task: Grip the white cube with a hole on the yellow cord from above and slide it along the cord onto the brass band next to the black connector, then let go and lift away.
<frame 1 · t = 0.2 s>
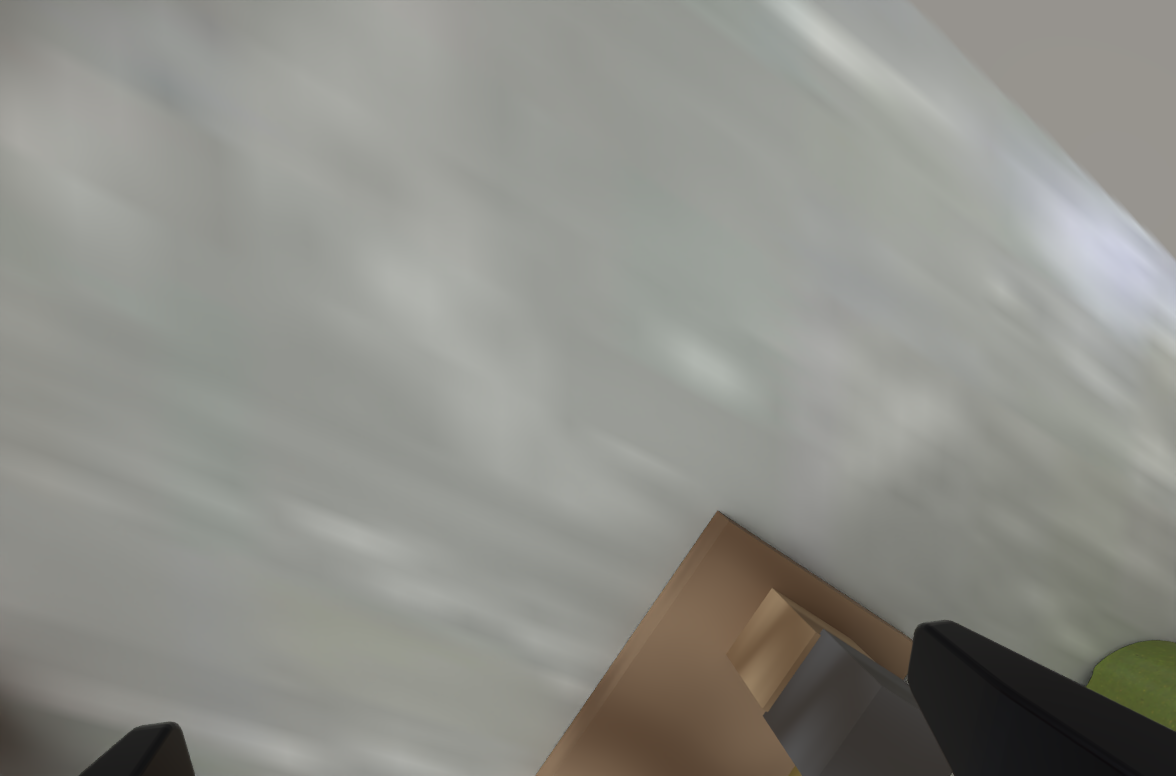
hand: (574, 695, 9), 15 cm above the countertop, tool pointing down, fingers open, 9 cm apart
plant pot: (1133, 714, 28), on the countertop
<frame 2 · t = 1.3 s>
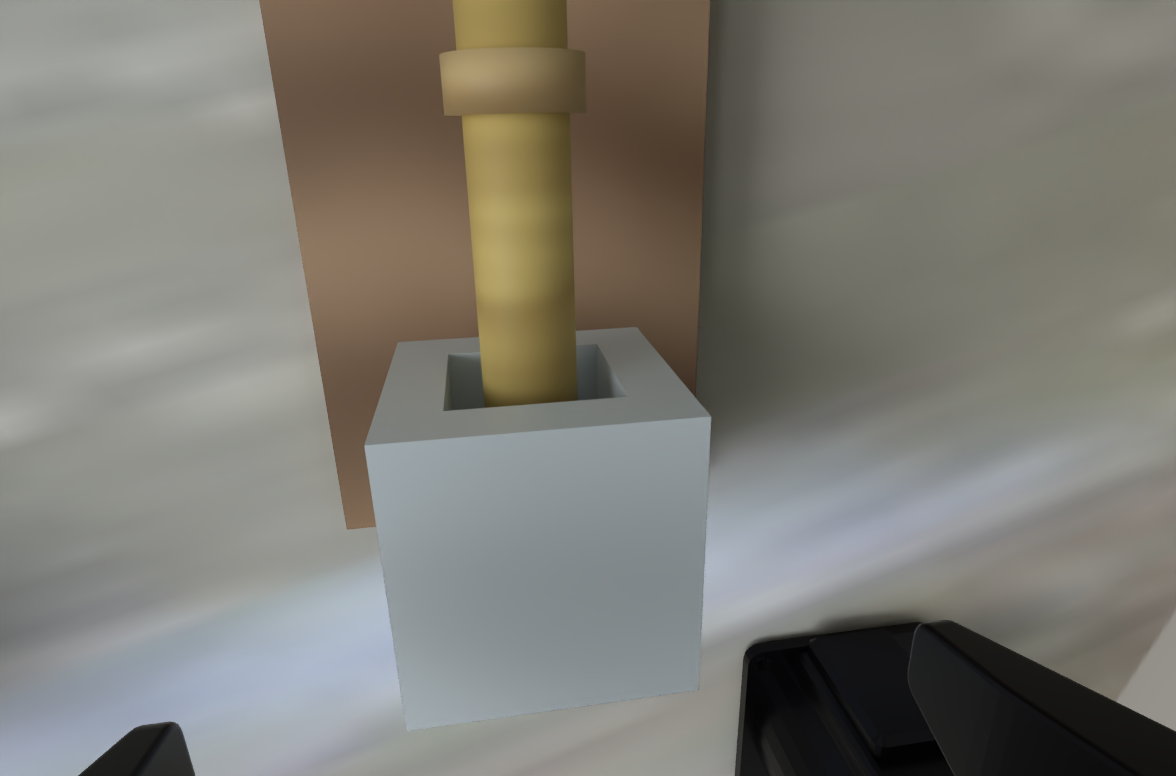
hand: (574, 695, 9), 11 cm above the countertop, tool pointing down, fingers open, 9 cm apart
white cube with hole: (536, 502, 13), point 6 cm above the countertop, slide at -7.0 cm
cord clamp board: (502, 168, 16), on the countertop
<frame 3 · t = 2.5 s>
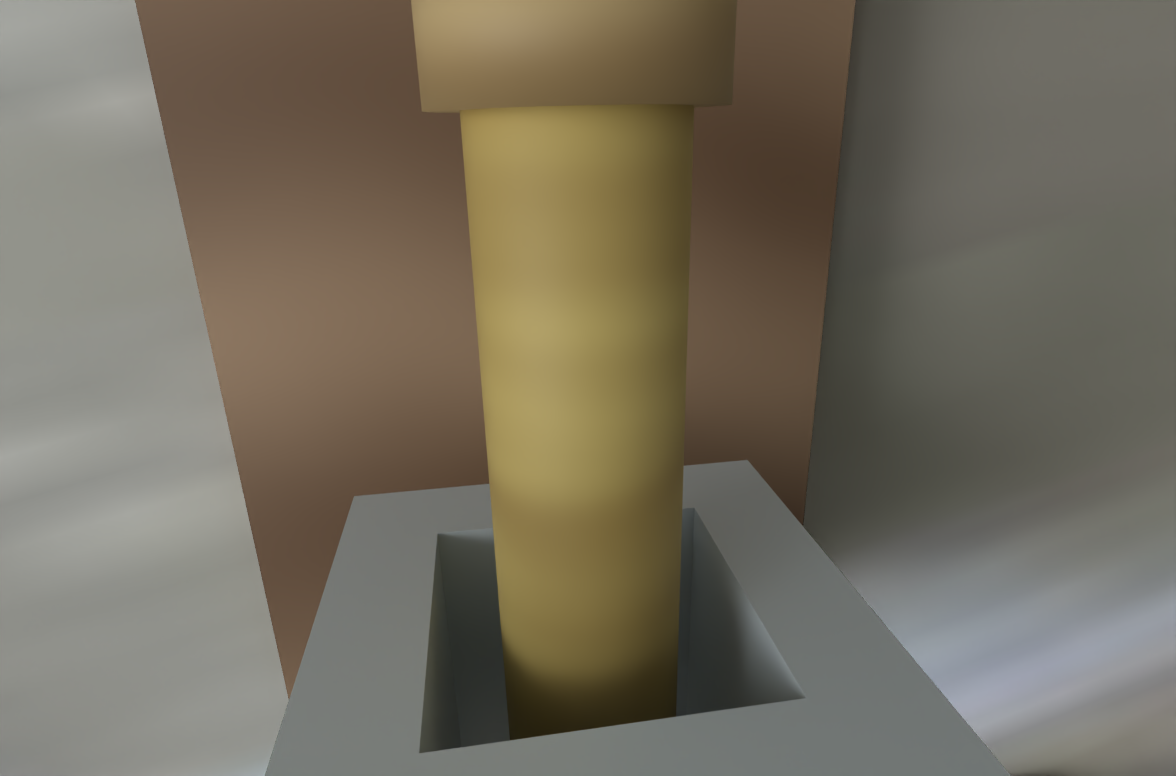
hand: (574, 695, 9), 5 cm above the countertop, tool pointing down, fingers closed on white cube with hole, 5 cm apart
cord clamp board: (524, 195, 11), on the countertop
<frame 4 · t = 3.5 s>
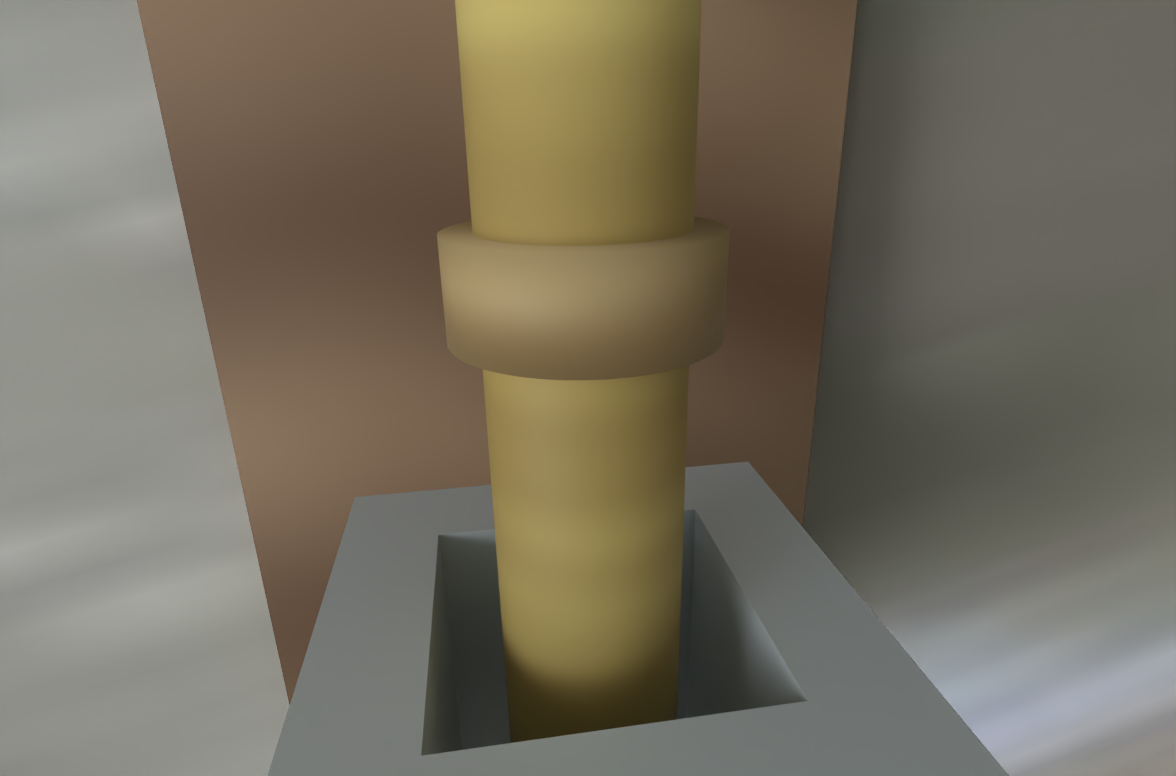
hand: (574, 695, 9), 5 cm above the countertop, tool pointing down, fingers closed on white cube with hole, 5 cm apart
cord clamp board: (530, 297, 11), on the countertop
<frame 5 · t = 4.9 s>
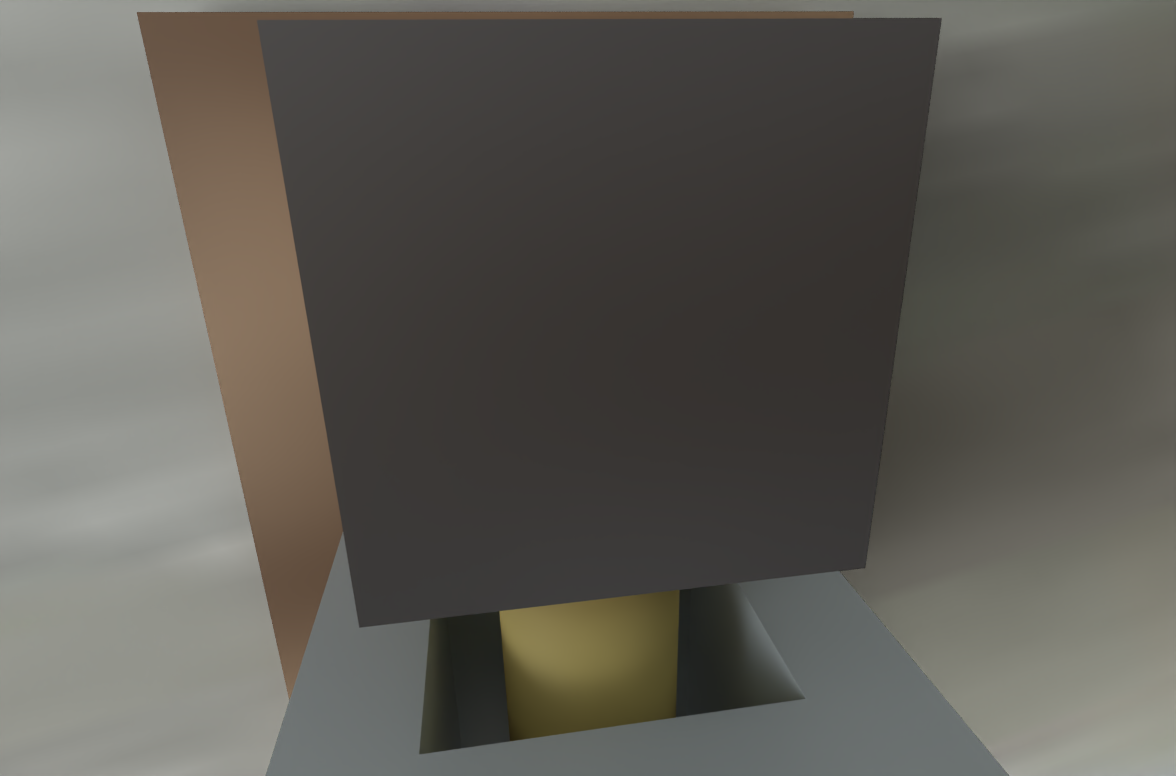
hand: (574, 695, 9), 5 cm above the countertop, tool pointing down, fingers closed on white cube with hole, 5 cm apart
cord clamp board: (544, 584, 13), on the countertop
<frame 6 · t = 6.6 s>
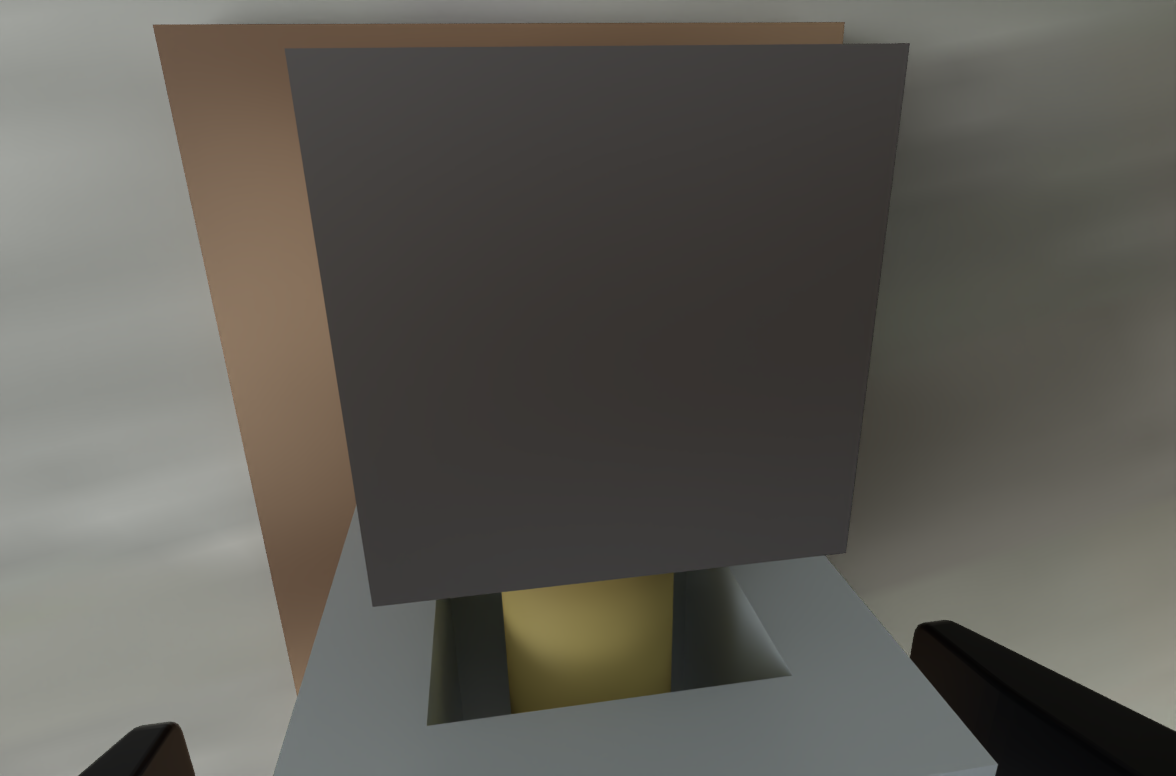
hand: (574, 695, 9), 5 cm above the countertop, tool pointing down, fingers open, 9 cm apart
cord clamp board: (544, 579, 14), on the countertop
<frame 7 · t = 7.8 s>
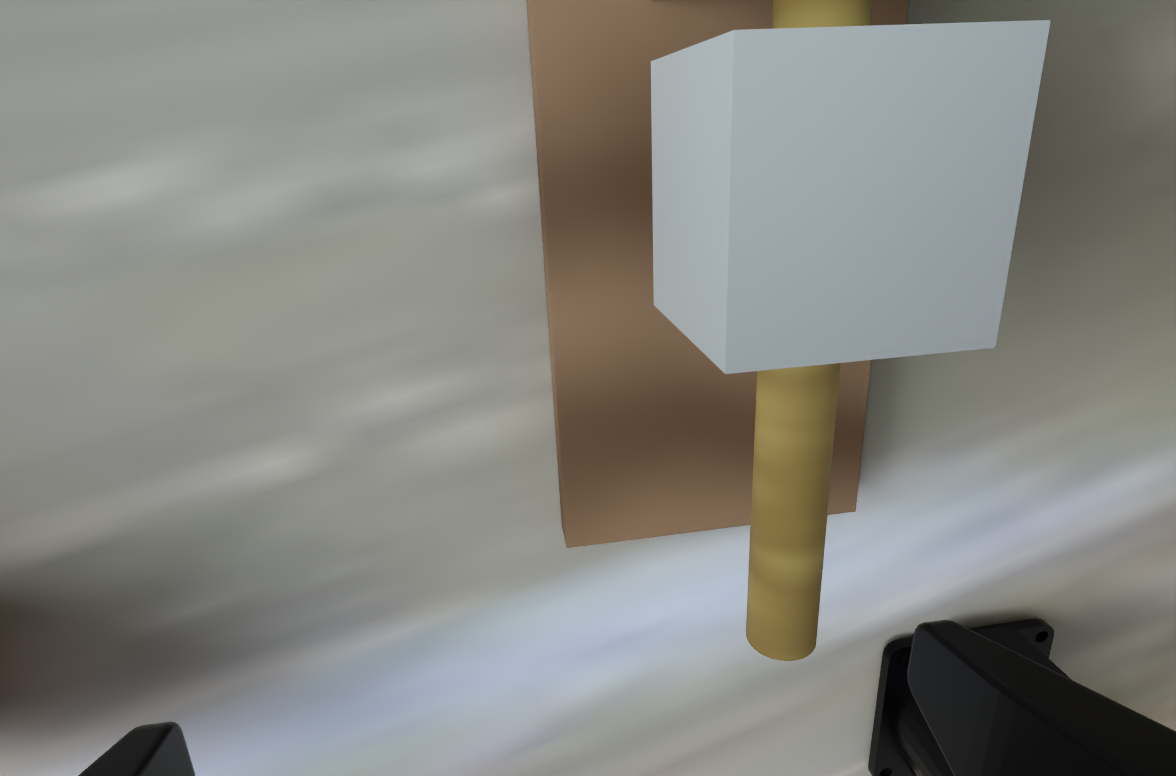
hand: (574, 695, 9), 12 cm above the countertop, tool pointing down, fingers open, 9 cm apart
white cube with hole: (809, 193, 13), point 6 cm above the countertop, slide at 0.2 cm
cord clamp board: (707, 237, 19), on the countertop
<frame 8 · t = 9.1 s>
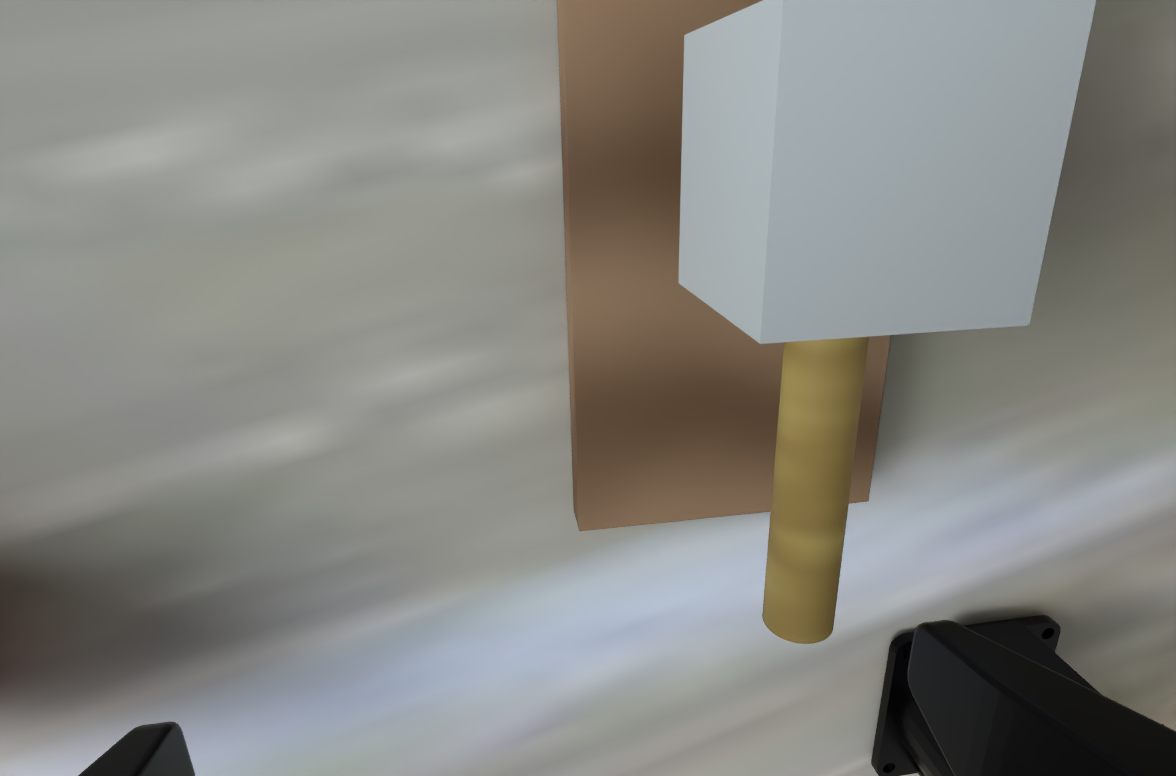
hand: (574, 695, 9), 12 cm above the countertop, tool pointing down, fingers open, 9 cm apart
white cube with hole: (843, 168, 13), point 6 cm above the countertop, slide at 0.2 cm
cord clamp board: (728, 221, 19), on the countertop
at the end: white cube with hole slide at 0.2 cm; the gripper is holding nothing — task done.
